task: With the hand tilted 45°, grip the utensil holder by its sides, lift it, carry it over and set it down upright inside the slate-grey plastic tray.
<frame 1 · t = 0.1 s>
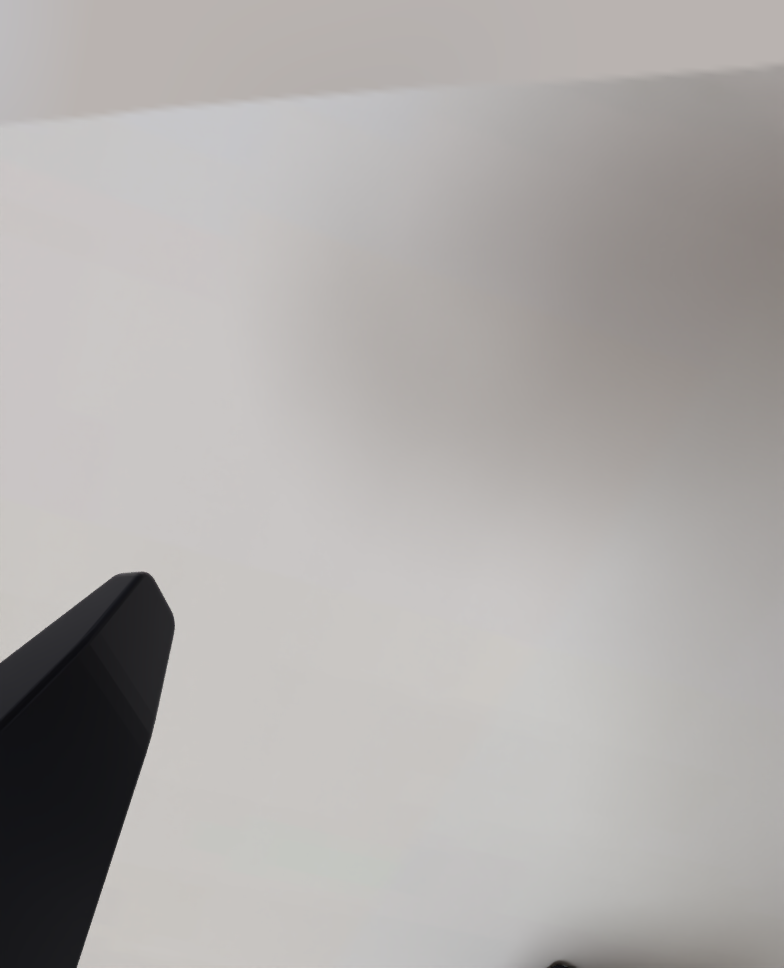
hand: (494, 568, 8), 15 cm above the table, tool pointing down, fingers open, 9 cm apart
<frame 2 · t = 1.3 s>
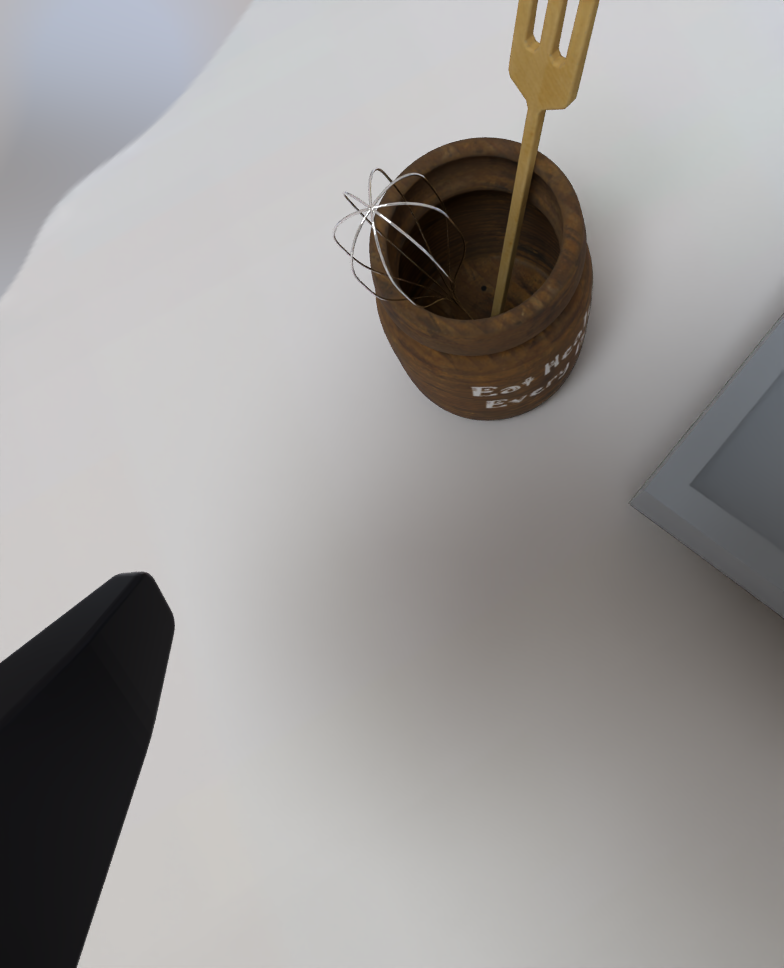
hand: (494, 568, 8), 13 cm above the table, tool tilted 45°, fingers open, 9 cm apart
utensil holder: (493, 338, 23), on the table
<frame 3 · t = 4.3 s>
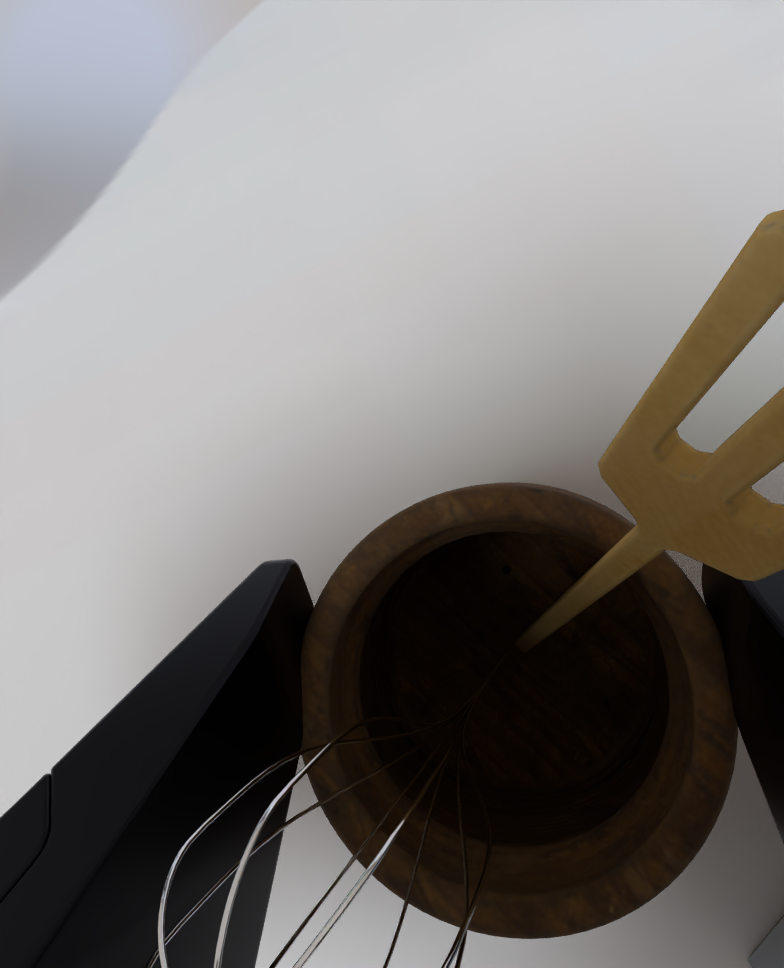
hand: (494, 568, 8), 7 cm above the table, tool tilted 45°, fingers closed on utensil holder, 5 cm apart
utensil holder: (521, 643, 15), on the table, touching gripper
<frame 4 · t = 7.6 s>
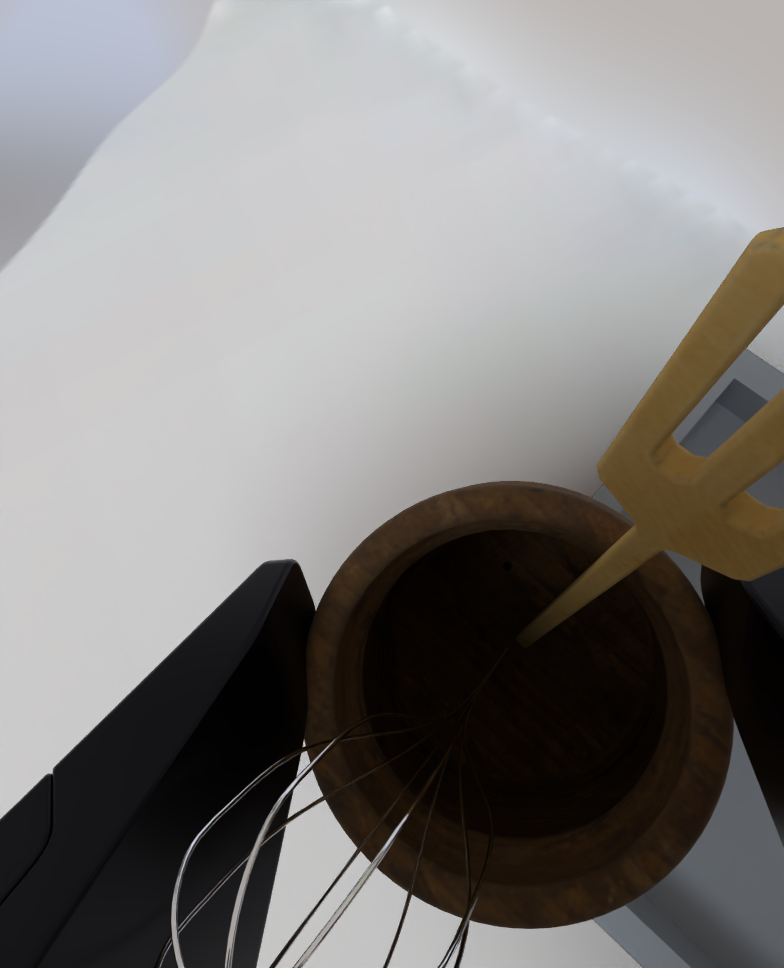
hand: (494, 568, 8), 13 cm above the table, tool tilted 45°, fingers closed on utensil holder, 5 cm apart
tray: (748, 696, 19), on the table
utensil holder: (522, 639, 15), point 6 cm above the table, touching gripper
when the fingers open (8 cm above the table, at t = 10.6 s): utensil holder stays where it is, resting on tray.
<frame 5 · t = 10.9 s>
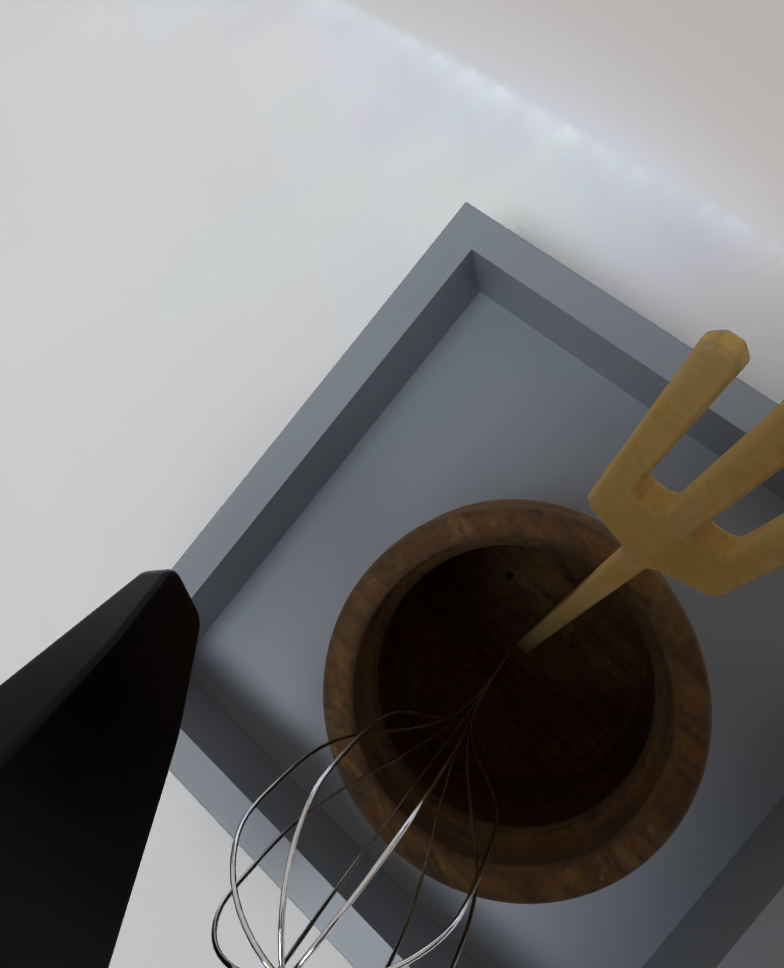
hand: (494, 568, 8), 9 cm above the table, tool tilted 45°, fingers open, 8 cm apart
tray: (521, 636, 16), on the table
utensil holder: (523, 644, 16), point 1 cm above the table, touching tray
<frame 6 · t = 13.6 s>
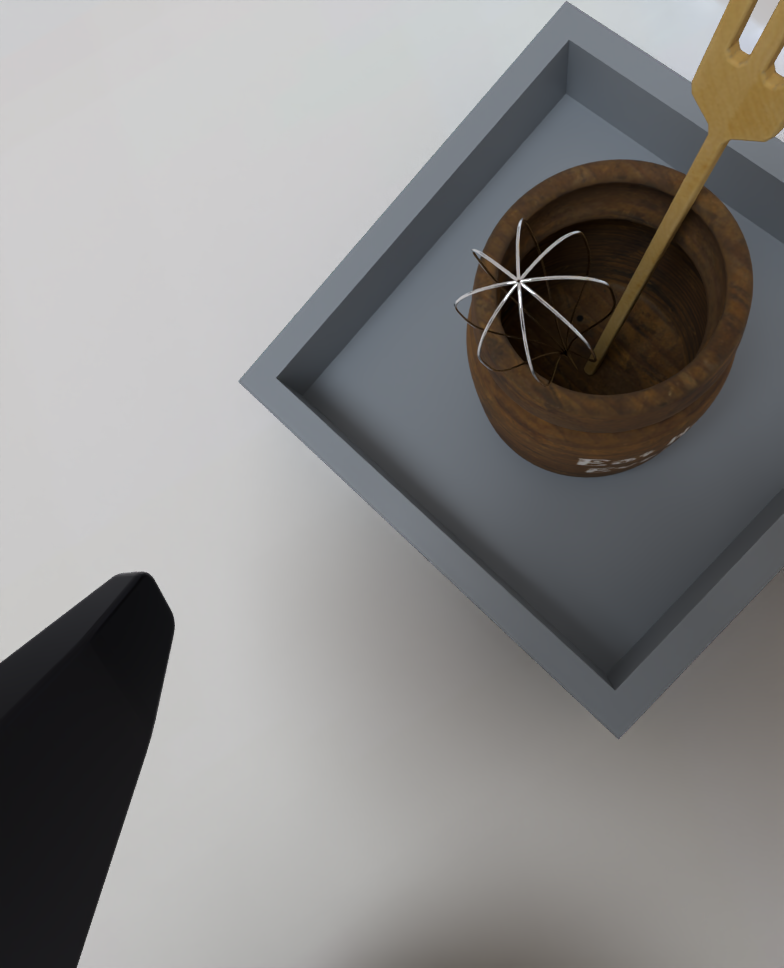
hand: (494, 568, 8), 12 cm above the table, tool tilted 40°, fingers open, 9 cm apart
tray: (583, 377, 20), on the table
utensil holder: (586, 376, 20), point 1 cm above the table, touching tray
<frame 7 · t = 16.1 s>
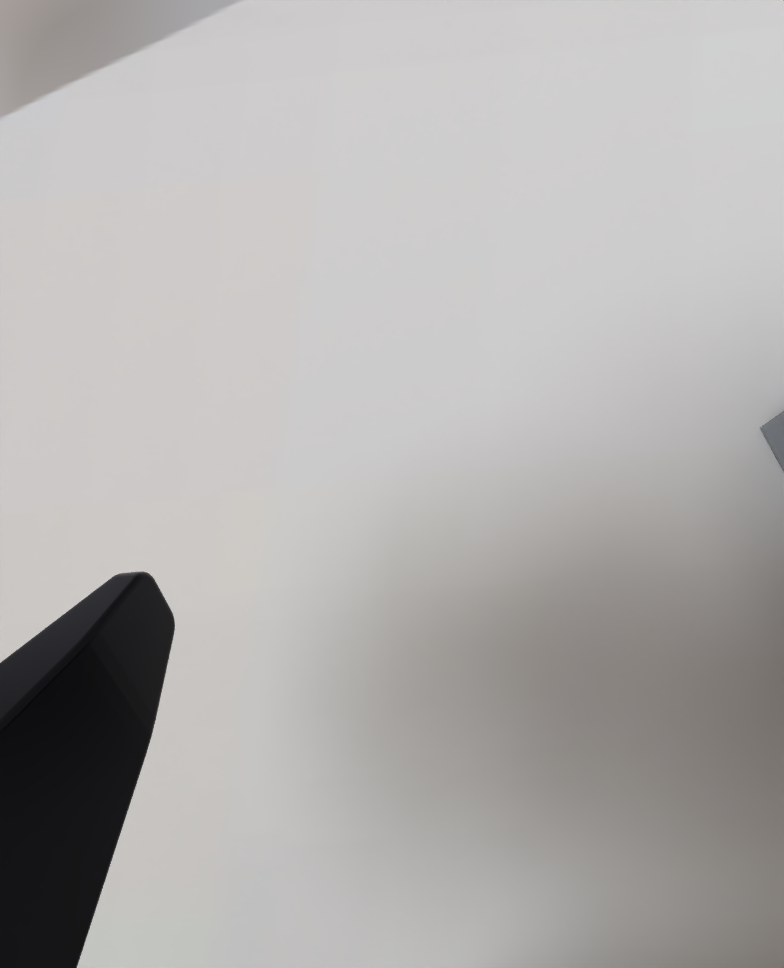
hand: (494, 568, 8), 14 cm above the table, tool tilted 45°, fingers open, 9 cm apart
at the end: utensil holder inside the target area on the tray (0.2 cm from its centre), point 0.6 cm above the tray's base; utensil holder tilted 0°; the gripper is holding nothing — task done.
